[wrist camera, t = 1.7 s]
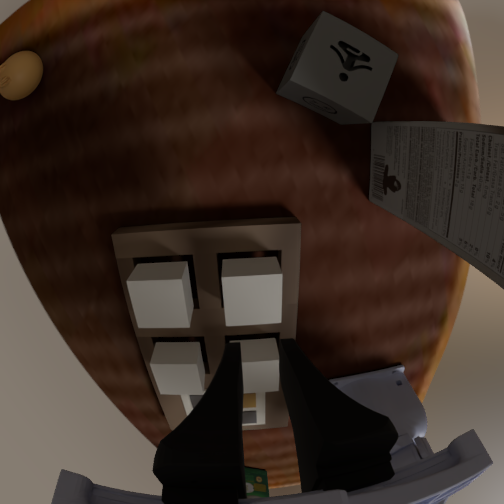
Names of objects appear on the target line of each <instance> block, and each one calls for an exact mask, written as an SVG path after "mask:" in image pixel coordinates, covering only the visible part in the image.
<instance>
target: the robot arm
mask: <svg viewBox="0 0 504 504" xmlns="http://www.w3.org/2000/svg"><path fill="white" fill-rule="evenodd" d="M404 369H405V368H404V366H403V365H399V366H395V367H391V368H386V369H382V370H377V371H373V372H368V373H363V374H358V375H353V376H347V377H342V378H336V379H330V380H328V379H327V378H326V377H325V376H324V375H323V374H322V373H321V372H320V371H319V370H318V369H317V368H316V367H315V366H314V365H313V363H312V362H311V361H310V360H309V359H308V357H307V356H306V355H305V354H304V352H303V351H302V350H301V348H300V347H299V345H298V344H297V343H296V341H295V340H294V339H293V338H288V339H280V351H279V374H280V381H281V387H282V391H283V394H284V398H285V402H286V405H287V409H288V412H289V416H290V419H291V423H292V427H293V432H294V438H295V444H296V451H297V458H298V465H299V473H300V481H301V489H302V493H298V494H291V495H283V496H275V497H264V498H250V499H247V491H246V479H245V466H244V453H243V438H242V420H243V396H244V387H243V372H242V358H241V344H240V342H231V343H226V344H225V349H224V352H223V356H222V358H221V361H220V364H219V366H218V368H217V371H216V373H215V375H214V377H213V379H212V381H211V383H210V385H209V386H208V388H207V390H206V391H205V393H204V395H203V396H202V398H201V399H200V401H199V402H198V403H197V405H196V406H195V407H194V408H193V410H192V411H191V412H190V413H189V415H188V416H187V417H186V418H185V419H184V420H183V421H182V422H181V423H180V424H179V425H178V426H177V427H176V428H175V429H174V430H173V431H172V432H171V433H169V434H168V435H167V436H166V437H165V438H163V439H162V440H161V441H160V444H159V446H158V448H157V451H156V454H155V458H154V464H153V473H154V475H155V476H156V477H157V478H158V480H159V481H160V482H161V483H162V484H163V489H162V496H157V495H149V494H142V493H136V492H130V491H124V490H120V489H115V488H110V487H106V486H101V485H97V484H93V483H92V481H91V480H90V479H88V478H87V477H85V476H83V475H80V474H76V473H73V472H70V471H67V470H63V469H62V470H61V472H60V475H59V479H58V482H57V485H56V489H55V493H54V496H53V499H52V503H51V504H445V503H446V501H447V499H448V497H449V496H451V495H453V494H454V493H456V492H458V491H460V490H461V489H463V488H464V487H466V486H468V485H469V484H470V483H471V482H472V481H474V480H475V479H476V478H477V477H479V476H480V475H481V474H482V473H483V472H484V471H485V470H487V469H488V468H489V467H490V466H491V465H492V464H493V461H492V460H491V458H490V456H489V454H488V453H487V451H486V449H485V448H484V446H483V444H482V442H481V441H480V439H479V437H478V436H477V434H476V433H475V431H474V429H472V430H470V431H468V432H466V433H464V434H462V435H461V436H459V437H457V438H456V439H454V440H453V441H452V442H451V443H450V444H449V446H448V447H447V448H445V449H443V450H441V451H439V452H437V453H435V454H434V453H433V451H432V449H431V447H430V445H429V443H428V441H427V439H426V438H424V436H425V433H426V430H427V417H426V413H425V410H424V408H423V405H422V403H421V402H420V400H419V398H418V397H417V395H416V393H415V392H414V390H413V388H412V387H411V385H410V383H409V382H408V380H407V378H406V377H405V375H404V374H403V371H404ZM416 445H417V446H416Z"/></svg>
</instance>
